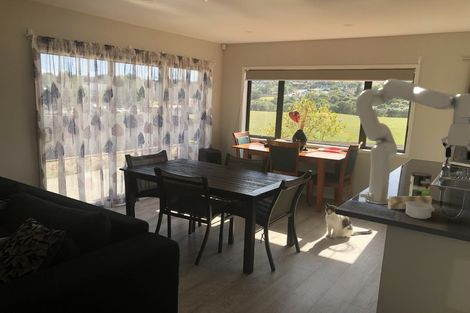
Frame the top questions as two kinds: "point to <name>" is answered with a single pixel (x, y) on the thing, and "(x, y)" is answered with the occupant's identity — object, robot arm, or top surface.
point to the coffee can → (420, 184)
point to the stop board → (400, 201)
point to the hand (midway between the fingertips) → (458, 158)
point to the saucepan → (421, 210)
